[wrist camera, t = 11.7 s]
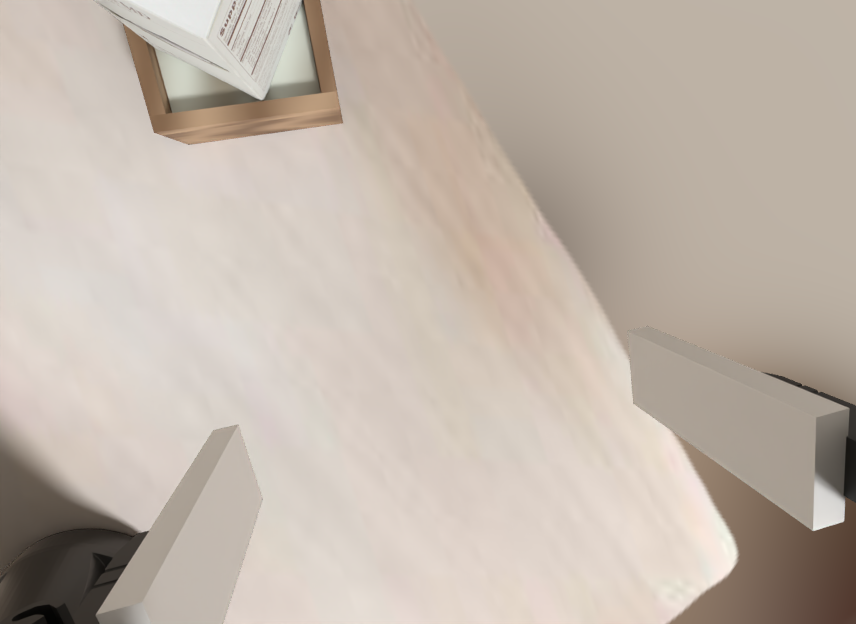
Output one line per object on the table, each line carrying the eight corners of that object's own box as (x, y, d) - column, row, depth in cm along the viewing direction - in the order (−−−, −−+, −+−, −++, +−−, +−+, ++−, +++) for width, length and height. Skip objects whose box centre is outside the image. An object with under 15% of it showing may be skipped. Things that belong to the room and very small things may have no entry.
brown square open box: (188, 144, 35) (154, 132, 29) (141, -33, 32) (91, -86, 26) (342, 123, 37) (339, 107, 31) (310, -50, 34) (300, -104, 28)
